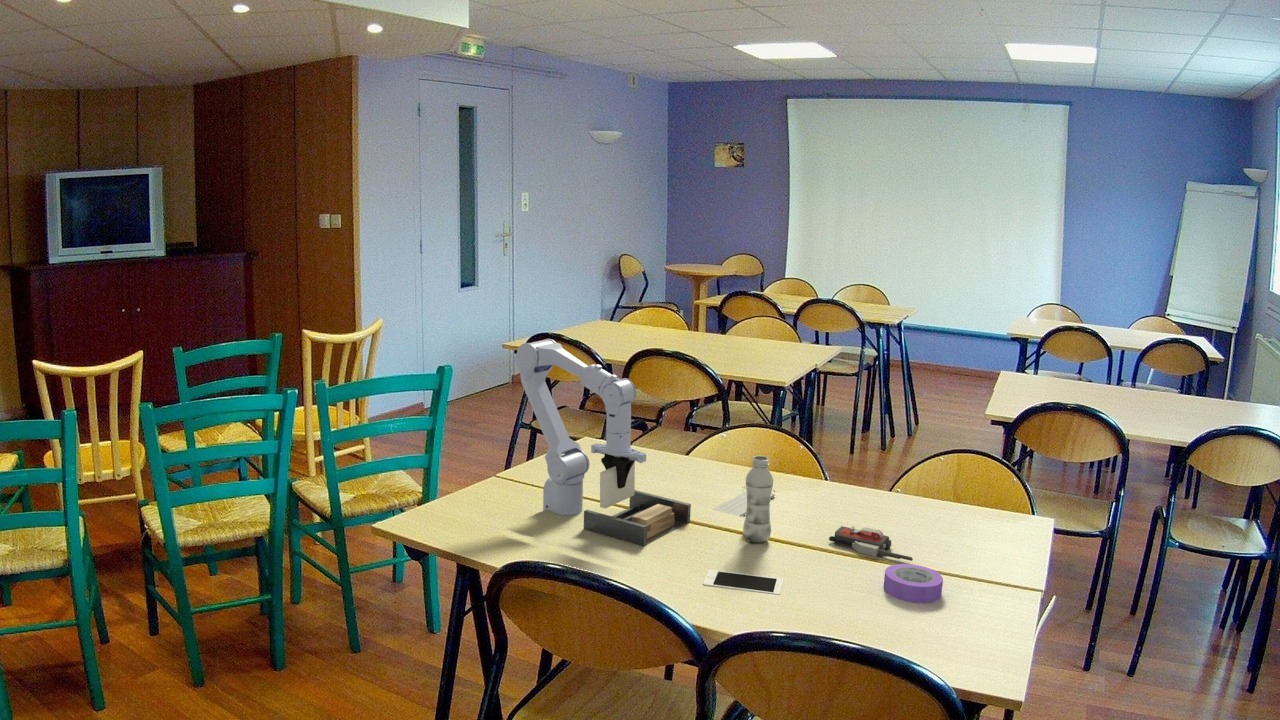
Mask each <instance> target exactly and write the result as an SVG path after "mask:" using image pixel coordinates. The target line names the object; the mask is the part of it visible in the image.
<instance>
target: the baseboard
mask: <svg viewBox="0 0 1280 720" xmlns="http://www.w3.org/2000/svg"><path fill="white" fill-rule="evenodd" d="M741 488H742V489H743V490H744V489H745V490H746V486H742V487H741ZM742 492H743V491H742ZM773 492H774V493H772V492H771V498H773V497H774V496H776V494H775V492H776V490H773ZM737 495H738V494H737ZM735 496H736V495H735ZM771 498H770V499H771ZM774 498H775V497H774ZM774 498H773V499H774ZM730 499H731V498H730ZM728 500H729V499H728ZM771 500H772V499H771ZM722 503H723V504H722ZM722 503H721V504H719V505H717V506H715V507H714V508H711V509H712V511H713V510H714V511H717V512H720V513H726V514H729V515H733V516H737V517H741V518H743V517H742V516H744V515H745V514H746V510H747V491H745V492H743V493H742V494H740V495H738V496H736V497H735V498H733V499H731V500H729V501H727V500H725V501H724V502H722ZM745 516H746V515H745ZM745 516H744V517H745Z"/></svg>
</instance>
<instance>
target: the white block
mask: <svg viewBox="0 0 1280 720" xmlns="http://www.w3.org/2000/svg"><path fill="white" fill-rule="evenodd" d="M635 462H636V461H635ZM635 462H634V464H633V465H632V467H631V469H630V471H629V474H628V477H627V480H626V484H625V487H623V488H621V489H619V488H618V485H617V470H616V466H614V467H612V468H609V469H607V470H606V469H605V470H603V471H600V472H599V508H602V509H608V508H610V507H612V506H614V505H617V504H619V503H620V502H623V501H625V500H627V499H630V497H632V496H634V491H635V490H636V488H635V481H636V480H635V477H636V474H635V471H636V470H635V468H636V467H635V466H636V463H635Z"/></svg>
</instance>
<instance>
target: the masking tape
mask: <svg viewBox="0 0 1280 720" xmlns="http://www.w3.org/2000/svg"><path fill="white" fill-rule="evenodd" d="M943 584H944V578H943V576H942V574H940V573H939V572H937V571H936V570H934V569H932V568H929V567H927V566H924V565H919V564H913V563H898V564H897V563H896V564H893V565H892V564H891V565H890V566H887V567H886V568H885V570H884V579H883V591H884V592H885V593H886V594H887V595H889V596H890V597H892V598H894V599H896V600H900V601H904V602H906V603H907V602H908V603H913V604H914V603H916V604H928V603H935V602H937V601H938V600H940V599H941V597H942V593H943Z"/></svg>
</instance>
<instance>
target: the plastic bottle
mask: <svg viewBox="0 0 1280 720" xmlns="http://www.w3.org/2000/svg"><path fill="white" fill-rule="evenodd" d="M751 465H752V468H751V469H750V470H749V471H748V472H747V474H746V477H745V490H746V491H747V510H746V515H745V516H744V518H745V519H744V522H743V528H742V532H743V533H742V534H743V535H744V537H745V539H746V540H747V541H749V542H753V543H765V542H767V541H768V540H769V539H770V538H771V533H772V526H771V525H772V524H771V516H770V515H771V514H770V513H771V512H770V506H771V500H770V498H771V493H772V492H773V487H774V477H773V475H772V473H771V471H770V469H768V467H769V466H770V464H769V457H767V456H765V455H754V456H753V458H752V463H751Z"/></svg>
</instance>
